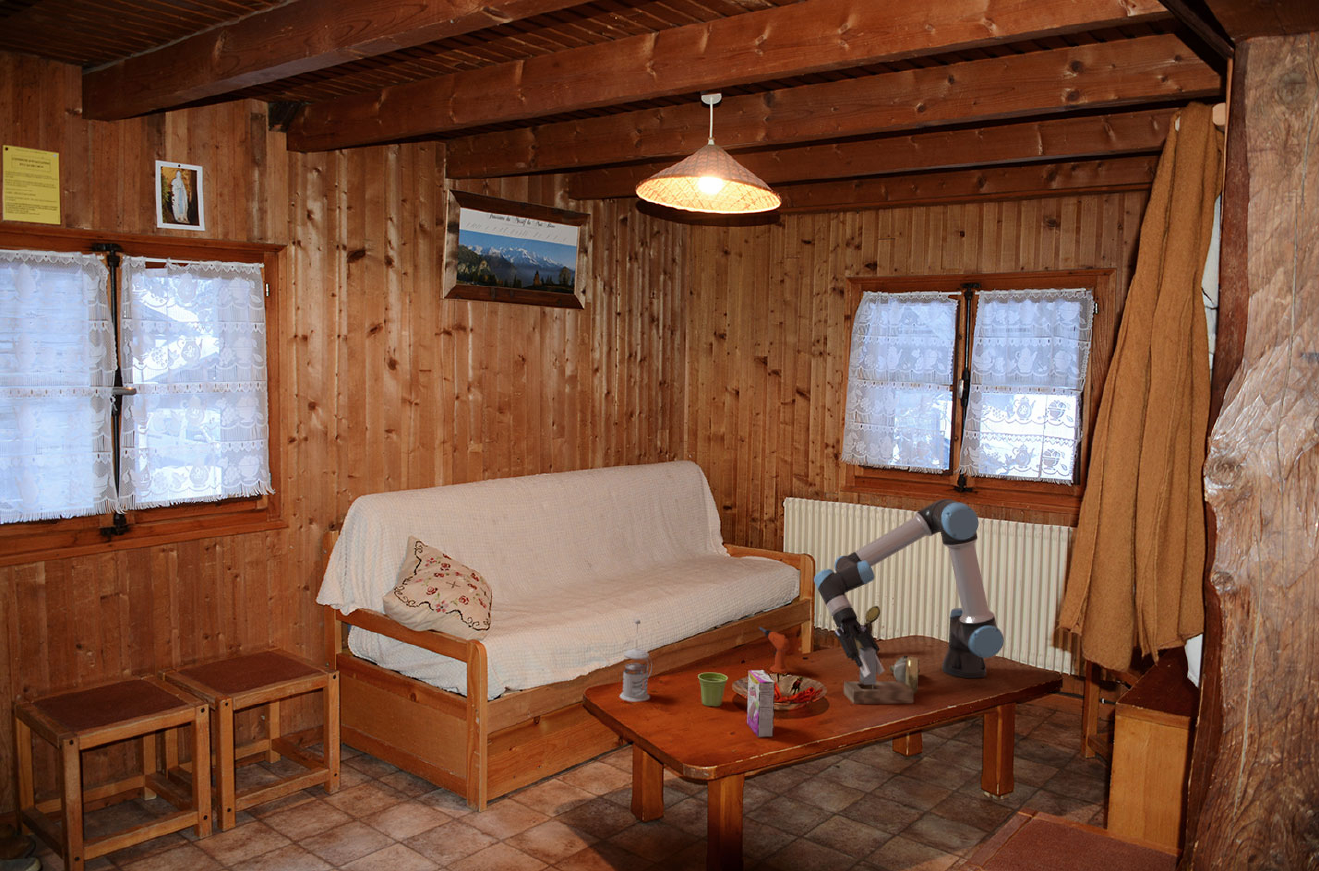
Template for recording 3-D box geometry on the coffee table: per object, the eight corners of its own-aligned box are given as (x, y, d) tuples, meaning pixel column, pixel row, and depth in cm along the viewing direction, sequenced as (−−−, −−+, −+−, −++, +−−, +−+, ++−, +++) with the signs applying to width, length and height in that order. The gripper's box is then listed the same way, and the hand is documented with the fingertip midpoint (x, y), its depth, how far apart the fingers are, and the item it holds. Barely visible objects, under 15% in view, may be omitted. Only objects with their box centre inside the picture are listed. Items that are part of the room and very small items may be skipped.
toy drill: (761, 656, 352) (765, 619, 349) (790, 677, 336) (795, 638, 334) (750, 658, 350) (755, 620, 347) (779, 678, 334) (784, 639, 332)
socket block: (901, 692, 321) (902, 681, 321) (913, 703, 311) (913, 690, 311) (843, 693, 319) (844, 681, 318) (853, 703, 309) (854, 691, 308)
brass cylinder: (914, 688, 326) (916, 656, 325) (918, 692, 322) (921, 660, 321) (902, 688, 325) (905, 656, 325) (907, 692, 321) (909, 660, 321)
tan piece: (884, 654, 365) (886, 608, 364) (859, 659, 357) (861, 612, 356) (867, 648, 372) (869, 603, 371) (842, 653, 365) (844, 606, 364)
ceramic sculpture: (889, 658, 330) (889, 648, 345) (888, 683, 330) (888, 673, 345) (921, 661, 328) (920, 652, 342) (920, 687, 328) (919, 676, 343)
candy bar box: (745, 723, 287) (747, 669, 286) (761, 723, 288) (763, 669, 287) (757, 737, 276) (759, 681, 275) (773, 737, 277) (776, 681, 276)
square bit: (871, 679, 316) (871, 647, 315) (876, 683, 312) (875, 650, 311) (859, 680, 315) (859, 647, 315) (864, 684, 312) (863, 651, 311)
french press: (613, 695, 308) (615, 618, 306) (638, 687, 316) (641, 613, 315) (635, 703, 301) (637, 625, 300) (660, 695, 310) (663, 619, 308)
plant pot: (710, 696, 310) (711, 670, 310) (732, 704, 304) (733, 677, 303) (690, 702, 304) (691, 675, 303) (712, 711, 297) (713, 683, 297)
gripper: (856, 615, 331) (888, 675, 318) (815, 620, 321) (847, 683, 308) (868, 603, 326) (901, 664, 313) (827, 608, 316) (860, 671, 303)
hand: (874, 673), depth 311 cm, fingers closed on square bit, 5 cm apart
